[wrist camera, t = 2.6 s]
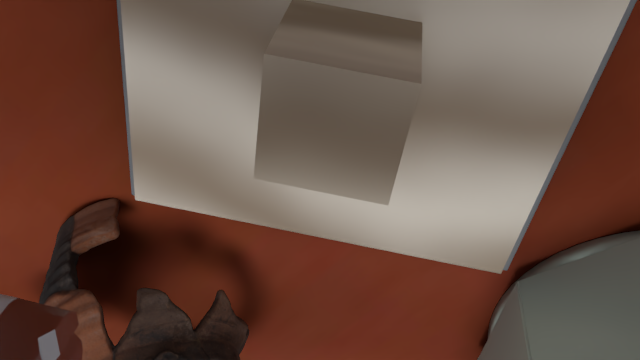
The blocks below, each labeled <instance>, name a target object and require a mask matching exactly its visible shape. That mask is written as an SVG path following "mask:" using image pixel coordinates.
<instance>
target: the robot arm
mask: <svg viewBox="0 0 640 360" xmlns="http://www.w3.org/2000/svg"><path fill="white" fill-rule="evenodd" d="M78 325H79V322H78V318H77V313H76V312H74V311H69V310H65V309H61V308H57V307H53V306H49V305H44V304H40V303H36V302H32V301H28V300H24V299H20V298H16V297H12V296H7V295H3V294H0V360H82V355H83V346H82V341H81V340H80V338H79V337H78V336H77V335H76V334H75V333H74V332H75V330H76V329H77V327H78Z"/></svg>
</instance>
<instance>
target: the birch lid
mask: <svg viewBox="0 0 640 360" xmlns="http://www.w3.org/2000/svg"><path fill="white" fill-rule="evenodd" d="M120 2H121V15H122V29H123V42H124V56H125V69H126V83H127V96H128V110H129V123H130V136H131V150H132V163H133V177H134V190H135V200H139V201H143V202H148V203H153V204H158V205H163V206H168V207H173V208H178V209H183V210H188V211H193V212H198V213H203V214H208V215H213V216H218V217H222V218H227V219H232V220H237V221H242V222H247V223H252V224H257V225H262V226H267V227H272V228H277V229H282V230H287V231H292V232H297V233H302V234H306V235H311V236H316V237H321V238H326V239H331V240H336V241H341V242H346V243H351V244H356V245H361V246H366V247H371V248H376V249H381V250H385V251H390V252H395V253H400V254H405V255H410V256H415V257H420V258H425V259H430V260H435V261H440V262H445V263H450V264H455V265H460V266H465V267H469V268H474V269H479V270H484V271H489V272H494V273H499V274H501V272H502V270H503V268H504V266H505V264H506V262H507V260H508V258H509V256H510V253H511V251H512V249H513V247H514V245H515V243H516V241H517V239H518V237H519V235H520V232H521V230H522V228H523V226H524V224H525V222H526V220H527V218H528V216H529V213H530V211H531V209H532V207H533V205H534V203H535V201H536V199H537V197H538V194H539V192H540V190H541V188H542V186H543V184H544V182H545V180H546V178H547V175H548V173H549V171H550V169H551V167H552V165H553V163H554V161H555V159H556V156H557V154H558V152H559V150H560V148H561V146H562V144H563V142H564V140H565V137H566V135H567V133H568V131H569V129H570V127H571V125H572V123H573V121H574V118H575V116H576V114H577V112H578V110H579V108H580V106H581V104H582V102H583V99H584V97H585V95H586V93H587V91H588V89H589V87H590V85H591V83H592V80H593V78H594V76H595V74H596V72H597V70H598V68H599V66H600V64H601V61H602V59H603V57H604V55H605V53H606V51H607V49H608V47H609V45H610V42H611V40H612V38H613V36H614V34H615V32H616V30H617V28H618V26H619V23H620V21H621V19H622V17H623V15H624V13H625V11H626V9H627V7H628V4H629V2H630V0H120Z"/></svg>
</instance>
